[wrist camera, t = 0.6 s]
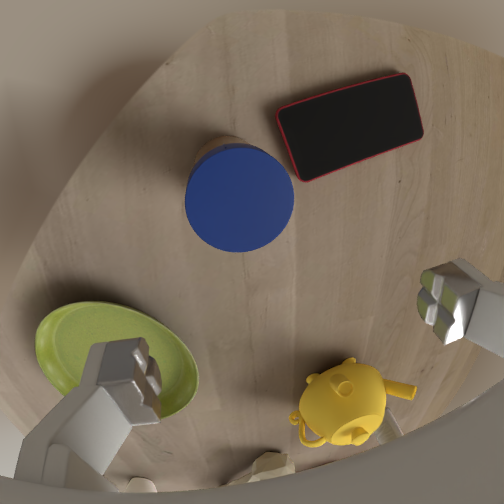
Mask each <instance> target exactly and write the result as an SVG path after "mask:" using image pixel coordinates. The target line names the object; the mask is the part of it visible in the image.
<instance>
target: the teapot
mask: <svg viewBox="0 0 504 504" xmlns="http://www.w3.org/2000/svg"><path fill="white" fill-rule="evenodd" d="M306 382H307V383H308V384H309V385H308V386H307V388H306V389H305V391H304V393H303V394H302V396H301V399H300V402H299V411H298V410H297V411H294V412H292V413H291V414H290V416H289V421H290V423H292V424H293V425H297V424H299V438H300V441H301V442H302V444H303V445H305V446H307V447H318V446H321V445H322V444H324V443H325V442H326V441H328V442H330V443H332V444H335V445H348V444H355V445H356V446H358V445H361V444H363V443H364V442H365V441H366V440H367V439H368V438H369V437H370V435H371V434H372V433H373V432H374V431H376V430H377V429H378V427H379V426H380V425H381V423H382V420H383V417H384V412H385V405H386V394H390V395H394V396H397V397H401V398H405V399H409V400H412V399H413V398H414V396H415V393H416V390H417V386H413V385H408V384H404V383H400V382H395V381H391V380H387V379H383V378H382V376H381V375H380V373H379V371H378V370H377V369H375V368H374V367H372V366H369V365H365V364H359V363H356V360H355V358H348V359H346V360H345V361H343V363H342V365H339V366H336V367H333V368H331V369H329V370H326V371H325V372H323V373H321V374H318V373H314V374H311V375H309V376H308V377H307V379H306ZM296 417H299V419H297V420H294V418H296ZM305 423H306V424H307V426H308V427H309V428H310V429H311V430H312V431H313V432H314V433H316V434H317V435H318V436H320V437H321V438H320V439H318V440H315V441H308V440H306V438H305Z"/></svg>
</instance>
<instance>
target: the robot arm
mask: <svg viewBox="0 0 504 504" xmlns="http://www.w3.org/2000/svg"><path fill="white" fill-rule="evenodd" d="M420 283H421V285H422V289H421V290H420V292H419V293H418V297H417V308H418V312H419V314H420V316H421V318H422V319H423V320H424V322H425V323H428V324H430V325H433V332H434V333H435V334H436V336H437V337H438V338H439V339H440V340H441V341H442V343H443V344H444V345H446V344H448V343H450V342H453V341H455V340H457V339H460V338H462V337H464V336H465V337H464V338H466V339H468V340H470V341H472V342H474V343H476V344H478V345H480V346H482V347H484V348H486V349H487V350H489V351H491V352H493V353H495V354H497V355H499V356H501V357H503V358H504V283H501V282H498V281H495V282H493V281H491V280H490V279H489V278H488V277H486V276H485V275H484V274H483V273H481V272H480V271H479V270H478V269H476V268H475V267H474V266H473V265H471V264H470V263H469V262H467V261H466V260H465V259H462V258H458V259H455V260H452V261H449V262H448V263H445V264H442V265H439V266H436V267H432V268H429V269H426V270H424V271H423V273H422V274H421V279H420ZM161 391H162V379H161V373H160V370H159V366H158V364H157V362H156V360H155V358H153V357H151V356H150V355H149V346H148V344H147V342H146V340H145V338H143V337H137V338H130V339H122V340H114V341H109V342H101V343H94V344H93V345H91V347H90V350H89V353H88V356H87V359H86V363H85V366H84V369H83V373H82V376H81V380H80V383H79V387H74V388H73V389H72V390H71V391H70V392H69V393H68V394H67V395H66V396H65V397H64V398H63V399H62V400H61V401H60V402H59V403H58V404H57V405H56V406H55V407H54V408H53V409H52V410H51V411H50V412H49V413H48V414H47V415H46V416H45V417H44V418H43V419H42V420H41V421H40V423H39V424H38V425H37V426H36V427H35V428H34V429H33V430H32V431H31V432H30V433H29V434H28V435H27V436H26V437H25V438H24V439H23V442H22V446H21V450H20V453H19V458H18V461H17V465H16V470H15V474H14V479H12V478H8V477H4V476H0V504H504V379H503V380H501V381H500V382H498V383H497V384H495V385H494V386H492V387H491V388H489V389H488V390H486V391H485V392H483V393H482V394H480V395H478V396H477V397H475V398H474V399H472V400H470V401H469V402H467V403H465V404H463V405H462V406H460V407H458V408H456V409H455V410H453V411H451V412H449V413H447V414H446V415H444V416H442V417H440V418H438V419H436V420H434V421H432V422H430V423H428V424H426V425H424V426H422V427H420V428H418V429H416V430H414V431H412V432H409V433H407V434H405V435H403V436H401V437H398V438H396V439H394V440H391V441H389V442H387V443H384V444H382V445H379V446H377V447H374V448H372V449H369V450H366V451H364V452H361V453H358V454H355V455H353V456H350V457H347V458H344V459H341V460H338V461H335V462H331V463H328V464H325V465H322V466H318V467H315V468H311V469H307V470H304V471H300V472H296V473H292V474H288V475H284V476H279V477H275V478H270V479H265V480H260V481H255V482H250V483H244V484H238V485H232V486H225V487H217V488H209V489H199V490H188V491H174V492H145V493H132V492H118V488H117V487H116V485H115V484H113V483H112V482H111V481H109V480H108V479H107V478H105V477H104V476H103V474H104V472H105V471H106V469H107V467H108V466H109V464H110V463H111V461H112V459H113V458H114V456H115V455H116V453H117V451H118V450H119V448H120V447H121V445H122V443H123V442H124V440H125V439H126V437H127V436H128V434H129V432H130V431H131V429H132V426H136V425H145V424H154V423H161V402H160V400H159V399H158V397H157V396H158V395H159V393H160V392H161Z"/></svg>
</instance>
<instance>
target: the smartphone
mask: <svg viewBox="0 0 504 504" xmlns="http://www.w3.org/2000/svg"><path fill="white" fill-rule="evenodd" d="M275 118H276V121H277V124H278V126H279V129H280V132H281V134H282V137H283V140H284V142H285V145H286V148H287V151H288V153H289V156H290V159H291V162H292V165H293V167H294V170H295V173H296V176H297V178H298V179H299V180H300V181H302V182H310V181H312V180H315V179H317V178H320V177H322V176H325V175H327V174H330V173H332V172H335V171H338V170H340V169H343V168H345V167H348V166H351V165H353V164H356V163H358V162H361V161H364V160H366V159H369V158H372V157H374V156H377V155H380V154H382V153H385V152H388V151H391V150H393V149H396V148H399V147H402V146H404V145H407V144H410V143H413V142H416V141H418V140H420V139H421V138H422V137H423V134H424V130H423V126H422V121H421V117H420V113H419V108H418V104H417V100H416V97H415V93H414V89H413V85H412V82H411V79H410V77H409V76H408V75H407V74H406V73H398V74H393V75H389V76H385V77H380V78H376V79H372V80H368V81H364V82H360V83H357V84H353V85H349V86H346V87H342V88H339V89H335V90H332V91H328V92H325V93H322V94H319V95H315V96H312V97H309V98H306V99H303V100H300V101H297V102H294V103H291V104H288V105H285V106H282V107H280V108H279V109H278V110H277V111H276V114H275Z"/></svg>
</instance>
